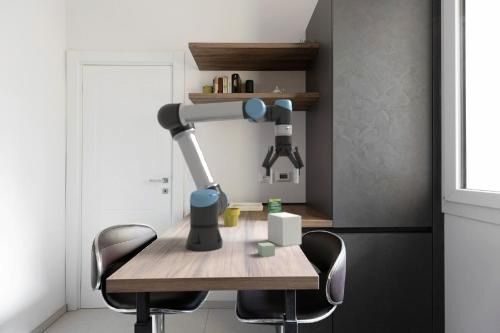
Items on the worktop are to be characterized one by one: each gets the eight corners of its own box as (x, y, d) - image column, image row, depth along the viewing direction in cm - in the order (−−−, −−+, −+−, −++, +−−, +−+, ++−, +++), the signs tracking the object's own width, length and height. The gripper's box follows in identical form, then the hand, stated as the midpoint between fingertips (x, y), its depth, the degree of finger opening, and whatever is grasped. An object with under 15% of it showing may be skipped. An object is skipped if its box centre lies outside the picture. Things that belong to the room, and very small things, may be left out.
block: (262, 257, 121) (262, 246, 121) (257, 253, 125) (257, 243, 125) (274, 255, 122) (274, 245, 122) (269, 252, 127) (269, 242, 127)
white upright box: (283, 246, 136) (282, 217, 136) (267, 240, 148) (267, 213, 148) (301, 244, 140) (301, 216, 140) (285, 238, 152) (284, 212, 152)
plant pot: (229, 228, 176) (229, 210, 176) (217, 225, 184) (217, 208, 184) (243, 225, 183) (243, 208, 183) (232, 223, 191) (232, 206, 191)
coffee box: (268, 220, 201) (268, 199, 201) (267, 219, 203) (267, 198, 203) (281, 220, 202) (281, 198, 202) (280, 219, 205) (280, 198, 205)
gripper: (262, 133, 135) (262, 184, 135) (311, 135, 146) (311, 183, 146) (254, 135, 142) (254, 183, 142) (301, 137, 153) (301, 182, 153)
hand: (283, 183), depth 144 cm, fingers open, 13 cm apart
